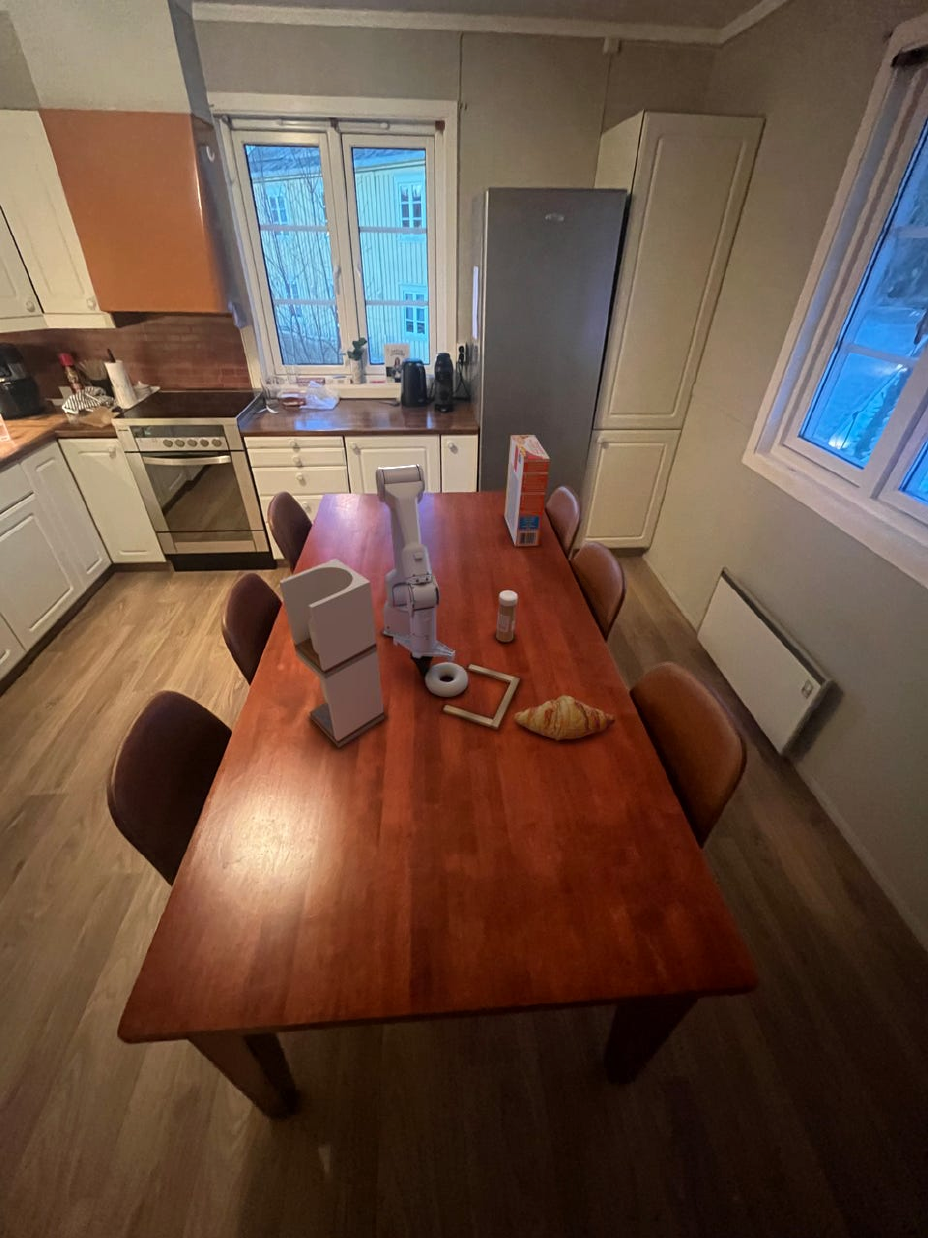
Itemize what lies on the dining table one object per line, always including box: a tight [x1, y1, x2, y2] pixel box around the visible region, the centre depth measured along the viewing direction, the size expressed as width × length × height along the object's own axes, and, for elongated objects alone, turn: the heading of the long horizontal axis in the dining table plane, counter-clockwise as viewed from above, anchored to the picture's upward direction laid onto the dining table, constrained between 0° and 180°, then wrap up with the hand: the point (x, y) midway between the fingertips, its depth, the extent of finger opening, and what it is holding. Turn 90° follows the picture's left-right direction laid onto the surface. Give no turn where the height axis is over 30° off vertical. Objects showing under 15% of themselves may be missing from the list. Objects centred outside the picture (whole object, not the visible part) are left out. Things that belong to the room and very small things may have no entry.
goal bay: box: [442, 663, 521, 730], centre depth 114 cm, size 12×16×1 cm
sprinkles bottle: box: [495, 589, 519, 643], centre depth 127 cm, size 5×5×13 cm
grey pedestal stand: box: [278, 558, 385, 748], centre depth 97 cm, size 11×11×35 cm
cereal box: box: [503, 434, 551, 547], centre depth 170 cm, size 23×8×30 cm, turn 6°
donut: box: [424, 661, 469, 698], centre depth 116 cm, size 10×3×10 cm
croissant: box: [514, 694, 616, 742], centre depth 106 cm, size 21×10×8 cm, turn 90°
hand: (424, 674), depth 118 cm, fingers closed
